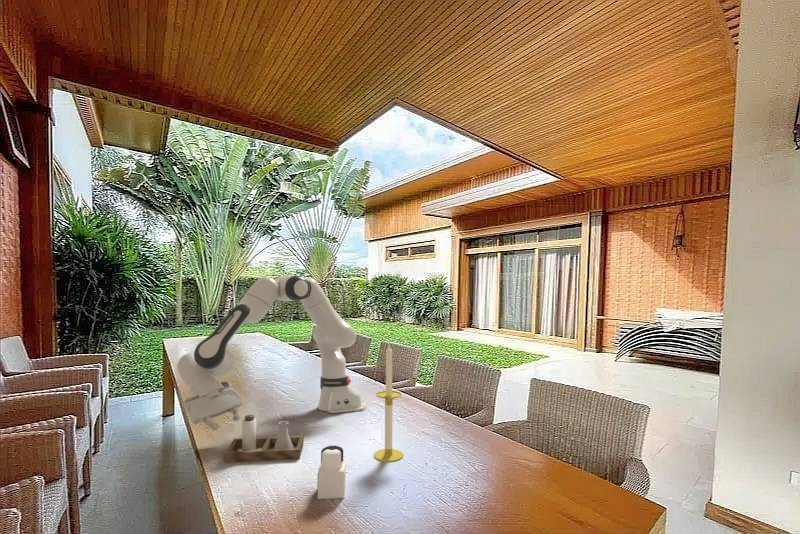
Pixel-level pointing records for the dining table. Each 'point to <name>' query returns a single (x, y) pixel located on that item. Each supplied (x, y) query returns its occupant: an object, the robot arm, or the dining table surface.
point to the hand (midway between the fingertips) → (227, 424)
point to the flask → (283, 437)
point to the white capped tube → (249, 433)
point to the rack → (263, 450)
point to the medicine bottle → (331, 473)
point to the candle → (388, 415)
